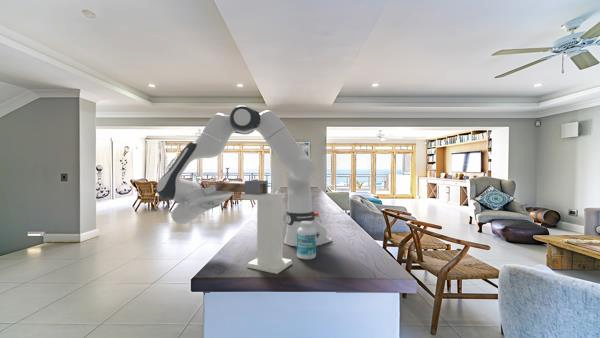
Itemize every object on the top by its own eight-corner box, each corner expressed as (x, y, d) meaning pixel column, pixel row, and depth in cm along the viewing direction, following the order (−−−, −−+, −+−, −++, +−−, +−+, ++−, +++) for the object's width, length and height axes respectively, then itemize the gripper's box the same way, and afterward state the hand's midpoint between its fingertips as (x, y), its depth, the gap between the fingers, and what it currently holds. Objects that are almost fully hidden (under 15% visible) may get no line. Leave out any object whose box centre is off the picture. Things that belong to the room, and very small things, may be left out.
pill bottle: (295, 259, 101) (295, 223, 101) (298, 253, 109) (298, 219, 109) (315, 260, 100) (315, 224, 100) (316, 254, 108) (317, 220, 108)
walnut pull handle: (215, 190, 104) (215, 182, 104) (221, 190, 107) (221, 182, 107) (258, 193, 95) (258, 184, 95) (263, 192, 98) (263, 184, 98)
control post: (240, 265, 95) (240, 181, 94) (257, 257, 104) (257, 179, 103) (277, 273, 88) (277, 182, 88) (291, 263, 97) (292, 181, 97)
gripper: (176, 197, 102) (200, 179, 96) (216, 192, 120) (238, 177, 114) (182, 212, 100) (206, 195, 95) (222, 205, 118) (244, 190, 113)
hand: (224, 185), depth 105 cm, fingers open, 8 cm apart
